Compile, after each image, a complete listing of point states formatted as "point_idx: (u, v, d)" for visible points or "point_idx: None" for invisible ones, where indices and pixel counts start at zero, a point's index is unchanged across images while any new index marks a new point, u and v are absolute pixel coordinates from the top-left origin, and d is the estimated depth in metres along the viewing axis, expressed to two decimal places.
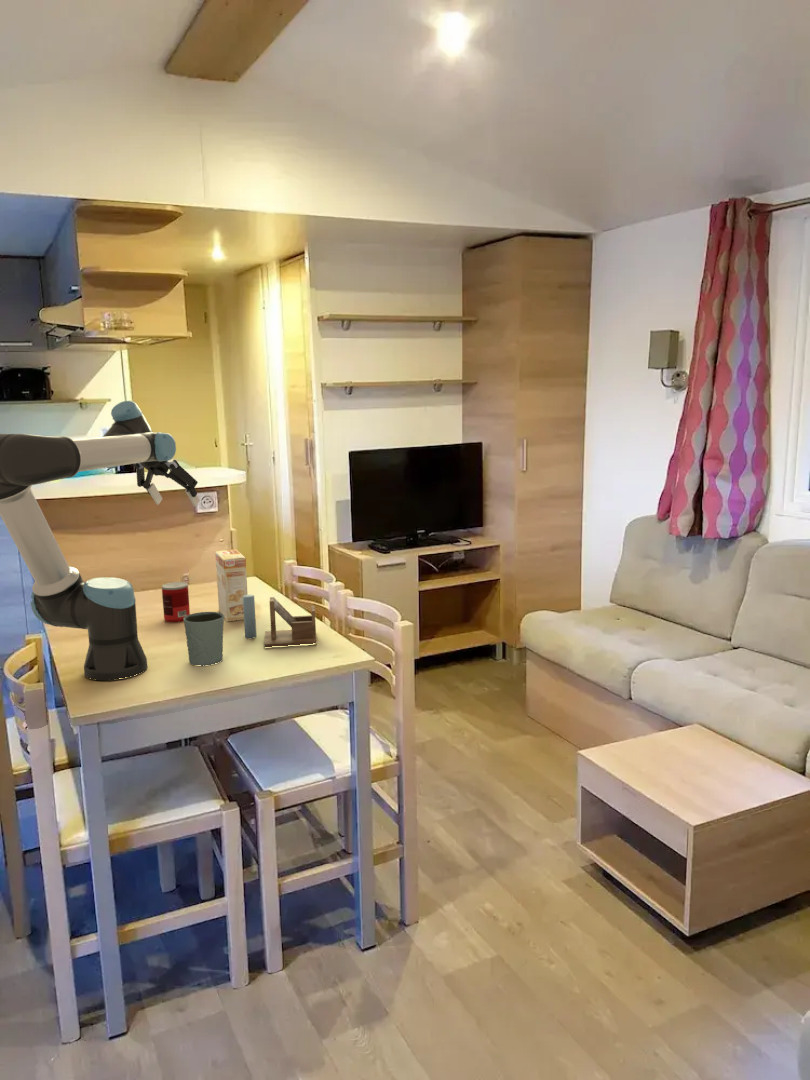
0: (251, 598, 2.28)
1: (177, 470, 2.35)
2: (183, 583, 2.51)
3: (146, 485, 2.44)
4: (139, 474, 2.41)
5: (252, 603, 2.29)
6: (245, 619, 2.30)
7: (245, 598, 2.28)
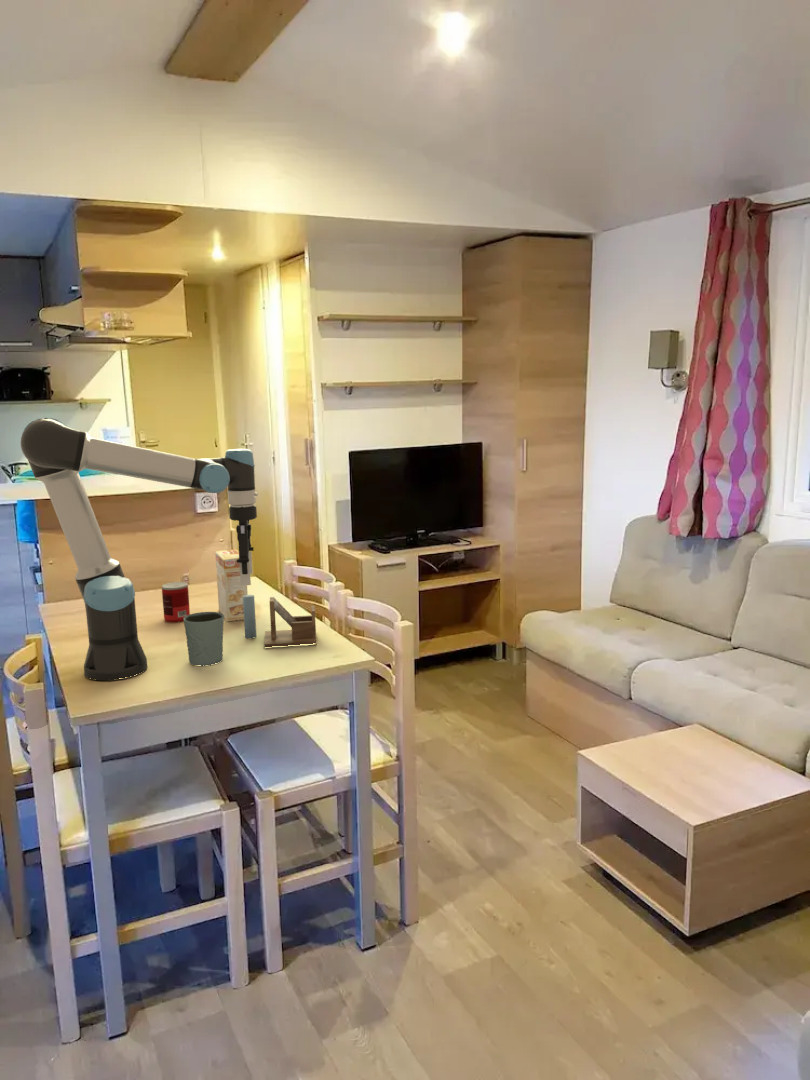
0: (251, 598, 2.28)
1: (240, 535, 2.19)
2: (183, 583, 2.51)
3: None
4: None
5: (252, 603, 2.29)
6: (245, 619, 2.30)
7: (245, 598, 2.28)
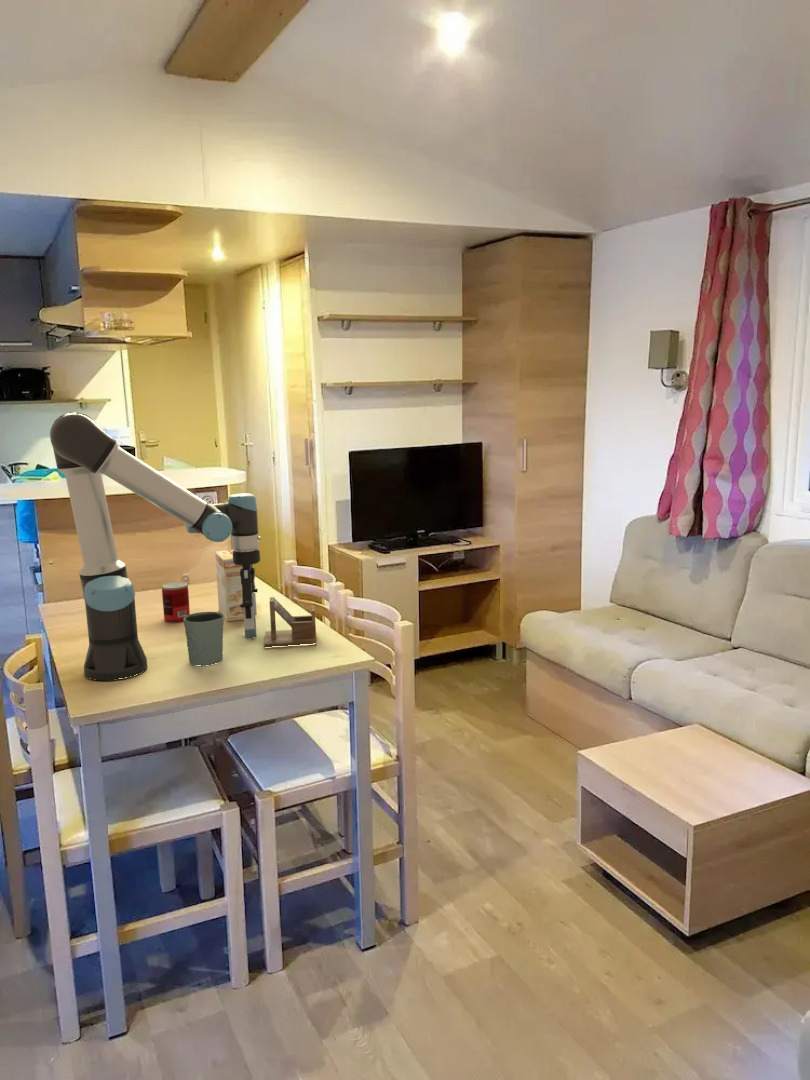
0: None
1: (243, 580, 2.21)
2: (183, 583, 2.51)
3: None
4: None
5: (252, 603, 2.29)
6: None
7: None
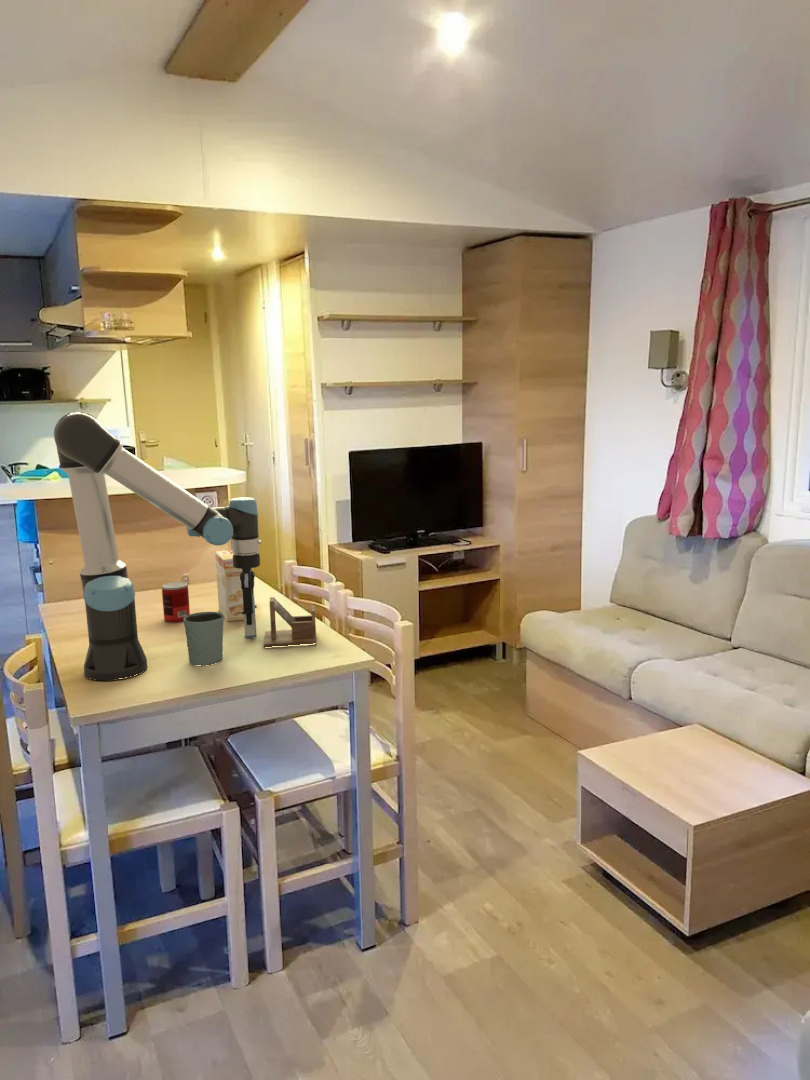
0: None
1: (244, 589, 2.23)
2: (183, 583, 2.51)
3: None
4: None
5: None
6: None
7: None
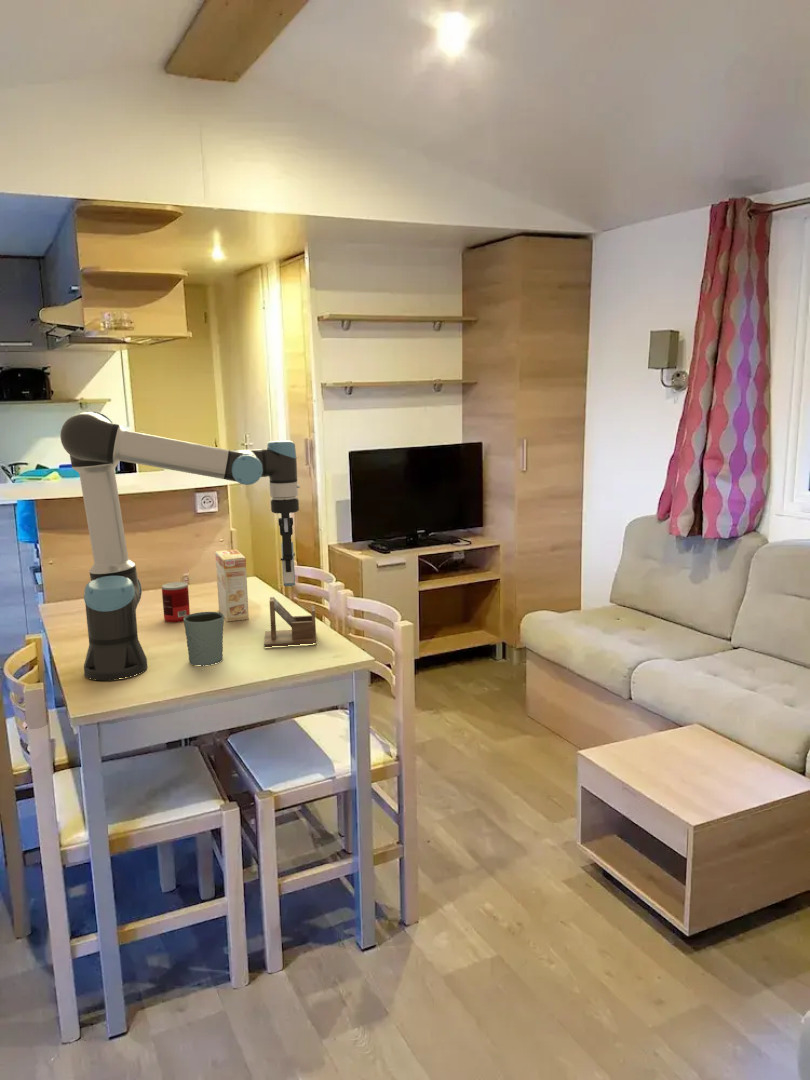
0: None
1: (283, 534, 2.17)
2: (183, 583, 2.51)
3: None
4: None
5: None
6: None
7: None
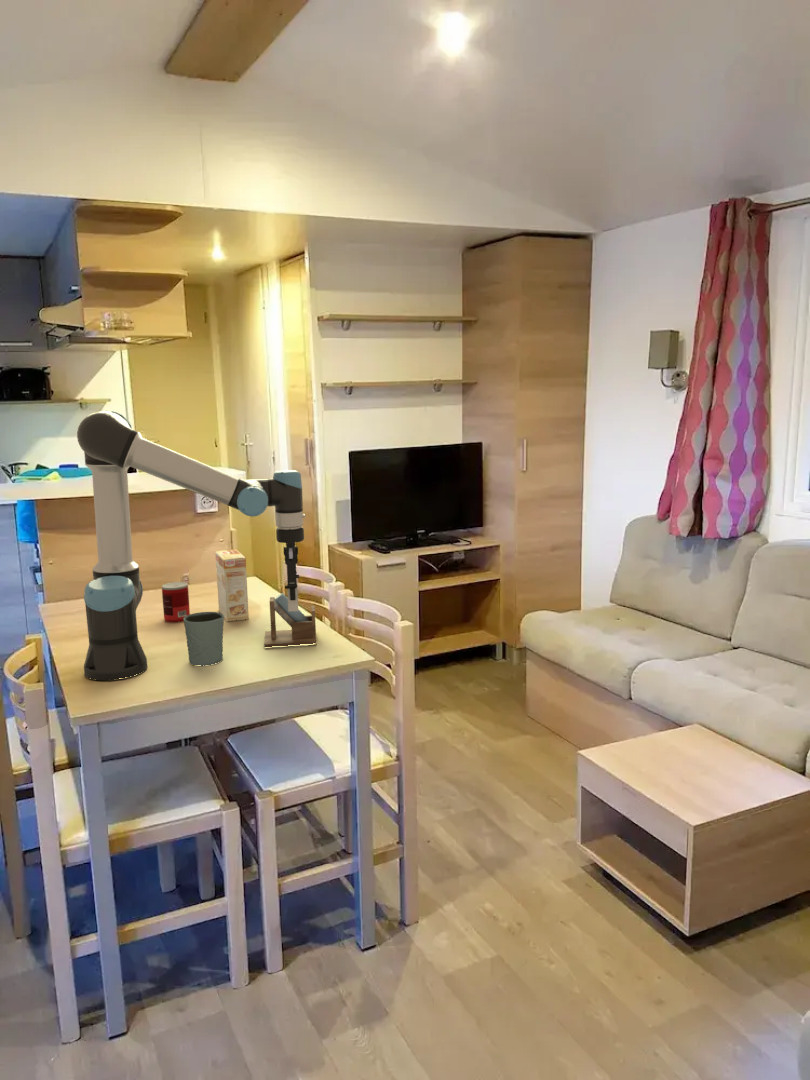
0: (282, 596, 2.24)
1: (288, 561, 2.17)
2: (183, 583, 2.51)
3: None
4: None
5: (286, 599, 2.25)
6: (292, 616, 2.26)
7: (277, 600, 2.24)
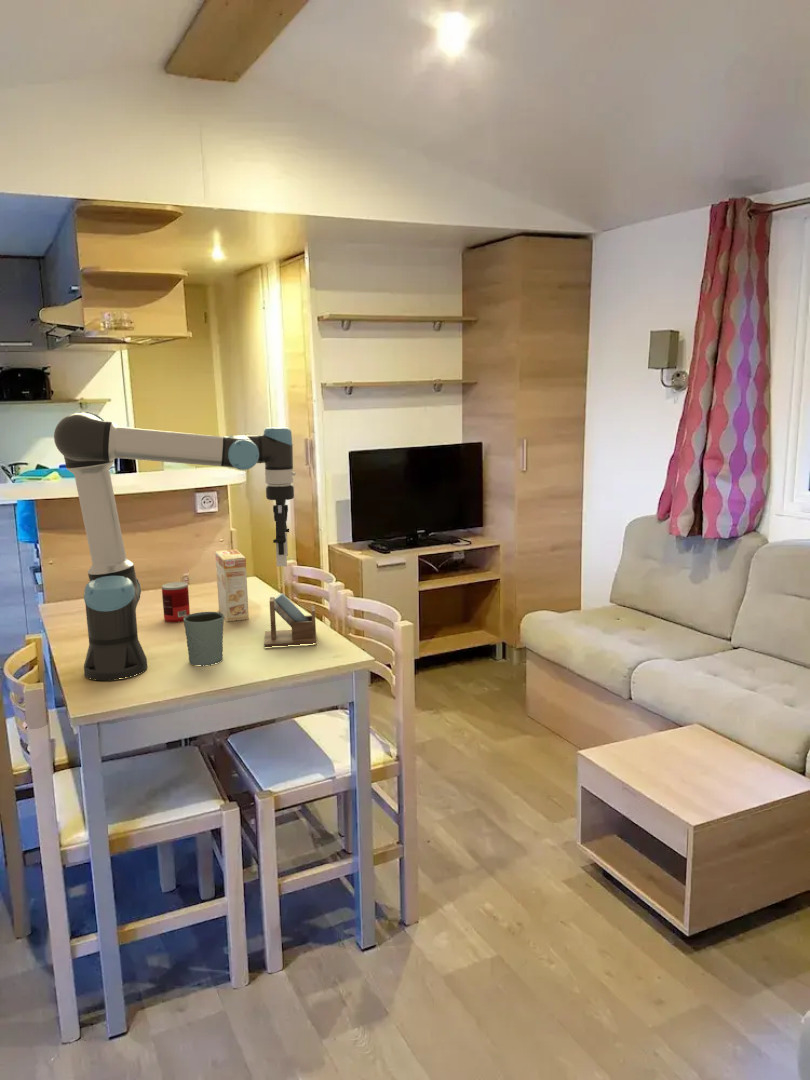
0: (282, 596, 2.24)
1: (277, 515, 2.15)
2: (183, 583, 2.51)
3: None
4: None
5: (286, 599, 2.25)
6: (292, 616, 2.26)
7: (277, 600, 2.24)
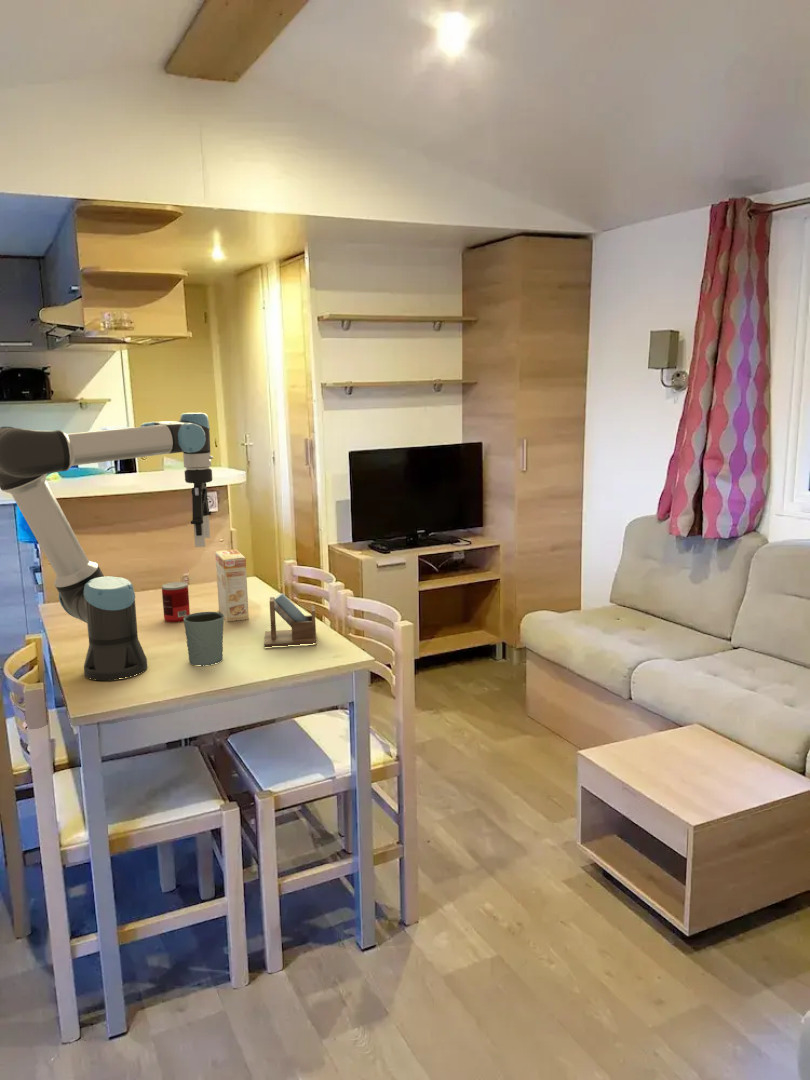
0: (282, 596, 2.24)
1: (194, 497, 2.23)
2: (183, 583, 2.51)
3: None
4: None
5: (286, 599, 2.25)
6: (292, 616, 2.26)
7: (277, 600, 2.24)
